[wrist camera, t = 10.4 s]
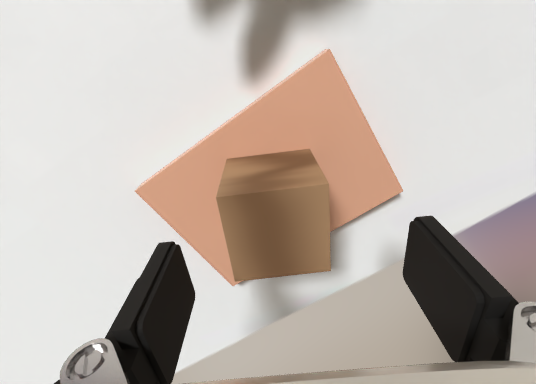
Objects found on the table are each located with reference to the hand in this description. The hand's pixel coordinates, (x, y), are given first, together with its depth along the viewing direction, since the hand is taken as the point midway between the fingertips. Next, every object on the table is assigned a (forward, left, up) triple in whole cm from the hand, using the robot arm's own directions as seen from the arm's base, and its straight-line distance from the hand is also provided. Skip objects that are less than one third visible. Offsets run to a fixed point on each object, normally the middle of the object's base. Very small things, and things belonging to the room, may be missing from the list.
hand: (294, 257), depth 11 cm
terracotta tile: (+1, 0, -8) cm, 8 cm away
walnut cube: (+1, 0, -7) cm, 7 cm away
